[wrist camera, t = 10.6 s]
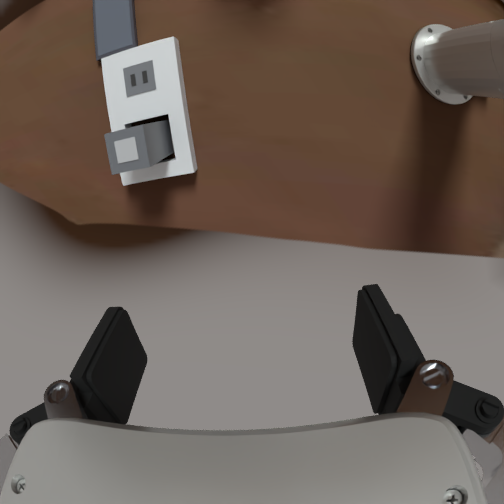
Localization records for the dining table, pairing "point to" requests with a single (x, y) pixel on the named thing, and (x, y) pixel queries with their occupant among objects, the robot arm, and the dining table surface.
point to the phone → (114, 27)
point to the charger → (139, 146)
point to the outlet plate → (150, 101)
